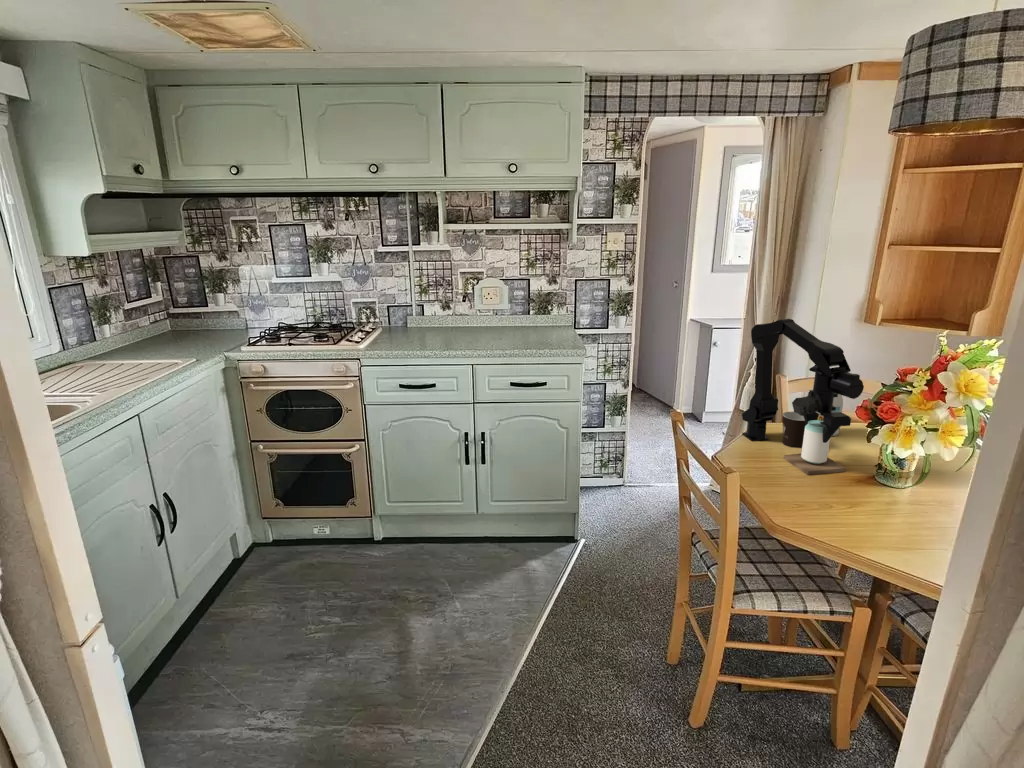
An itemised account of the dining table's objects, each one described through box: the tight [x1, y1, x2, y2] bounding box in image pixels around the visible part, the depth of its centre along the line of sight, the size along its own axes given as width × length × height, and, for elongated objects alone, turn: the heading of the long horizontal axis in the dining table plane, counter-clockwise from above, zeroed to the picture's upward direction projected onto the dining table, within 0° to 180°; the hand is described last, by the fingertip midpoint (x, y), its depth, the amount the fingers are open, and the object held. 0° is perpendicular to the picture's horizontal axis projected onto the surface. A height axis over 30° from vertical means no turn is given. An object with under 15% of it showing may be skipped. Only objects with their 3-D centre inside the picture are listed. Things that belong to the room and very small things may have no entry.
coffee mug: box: [782, 411, 806, 449], centre depth 191 cm, size 12×9×10 cm
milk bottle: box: [817, 394, 844, 437], centre depth 197 cm, size 8×8×20 cm
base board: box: [783, 453, 846, 476], centre depth 175 cm, size 12×12×1 cm
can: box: [800, 420, 831, 464], centre depth 173 cm, size 7×7×12 cm
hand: (816, 437), depth 173 cm, fingers closed on can, 7 cm apart
